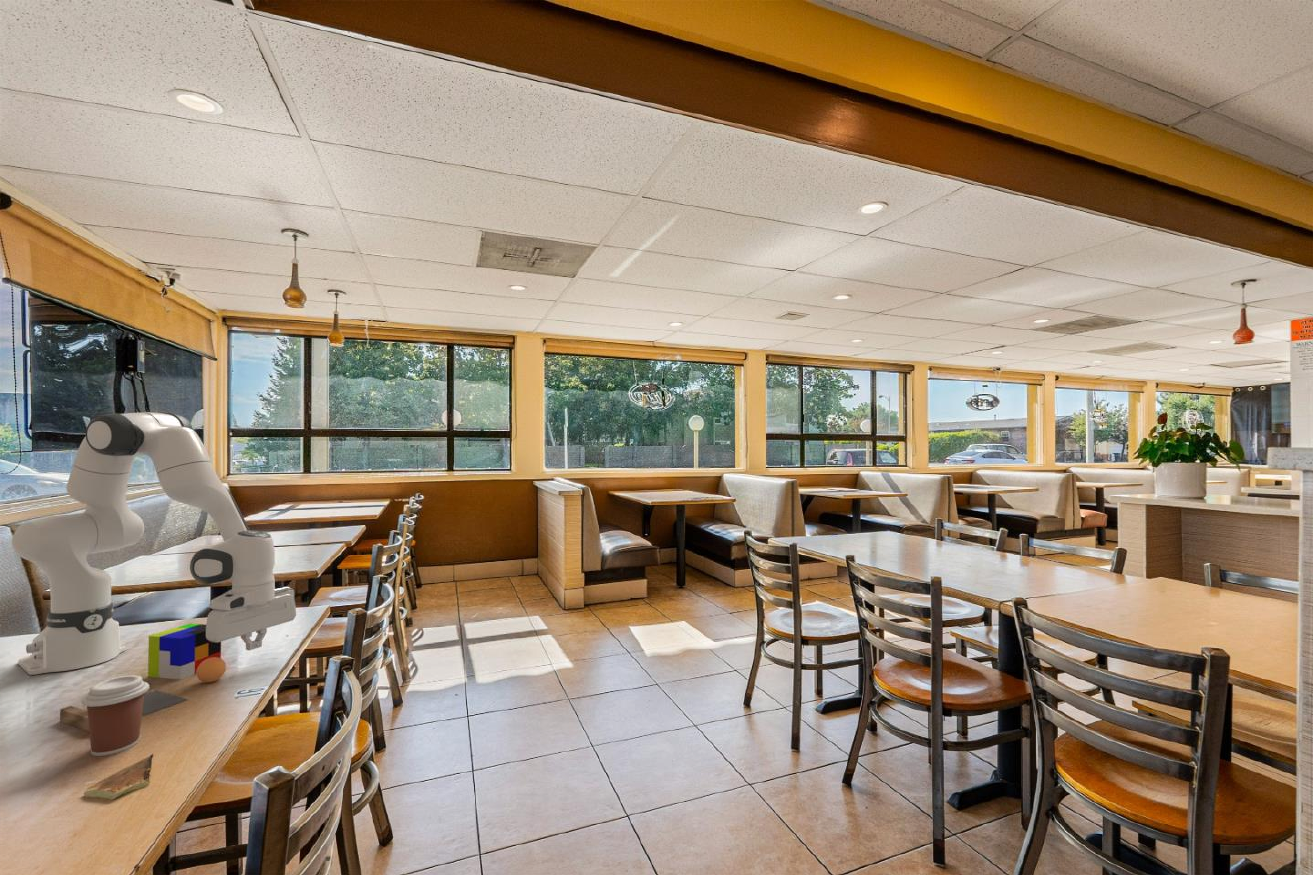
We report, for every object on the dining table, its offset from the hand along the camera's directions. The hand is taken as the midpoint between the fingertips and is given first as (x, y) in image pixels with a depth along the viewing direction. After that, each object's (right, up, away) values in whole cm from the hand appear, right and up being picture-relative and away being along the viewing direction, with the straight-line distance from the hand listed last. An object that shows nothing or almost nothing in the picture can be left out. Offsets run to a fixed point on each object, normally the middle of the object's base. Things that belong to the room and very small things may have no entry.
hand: (253, 648), depth 142 cm
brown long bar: (-13, -4, -30) cm, 33 cm away
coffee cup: (+2, -4, -38) cm, 38 cm away
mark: (-9, -4, -22) cm, 24 cm away
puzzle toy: (-16, -5, -2) cm, 17 cm away
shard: (+13, -5, -49) cm, 51 cm away
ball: (-4, -2, -9) cm, 10 cm away
